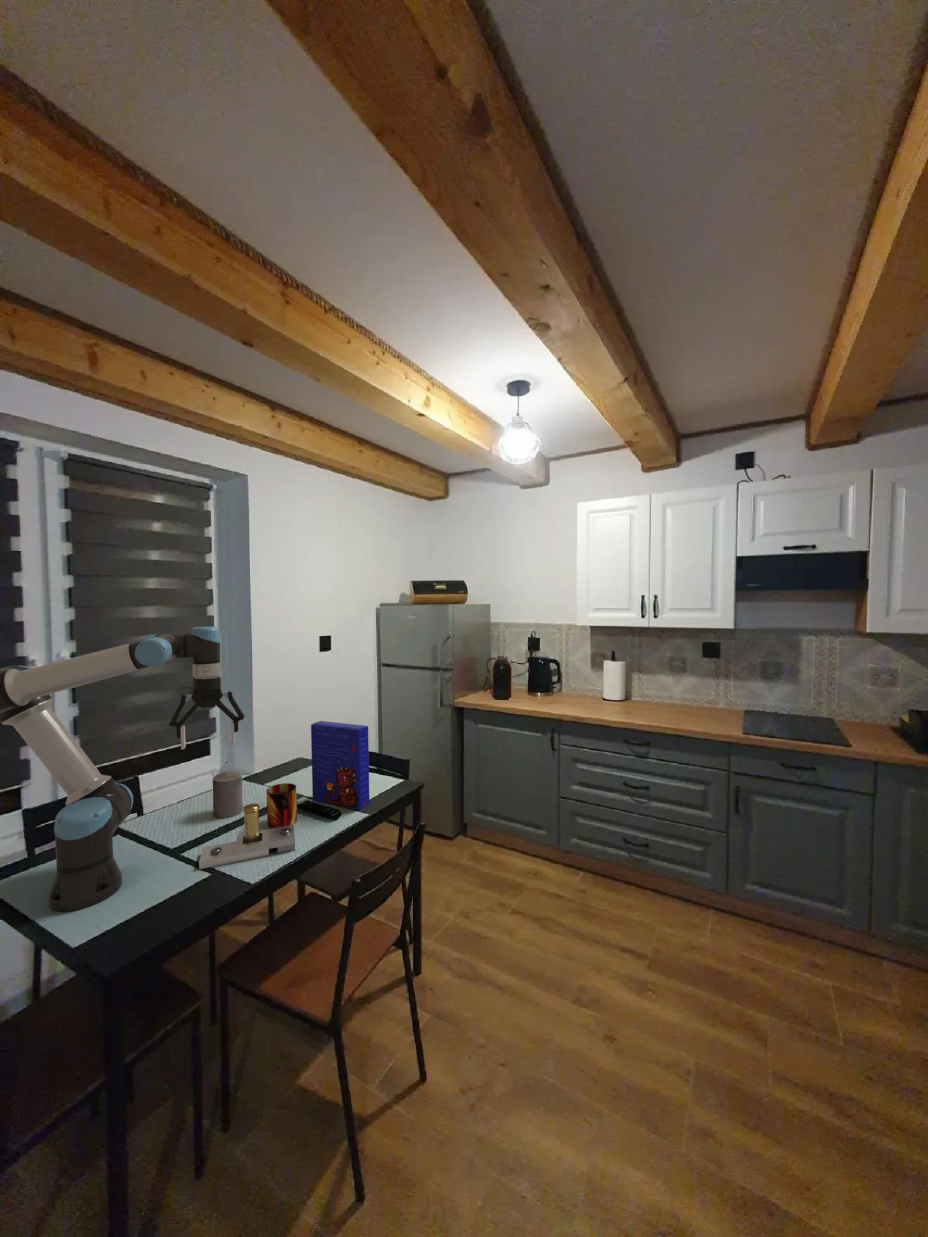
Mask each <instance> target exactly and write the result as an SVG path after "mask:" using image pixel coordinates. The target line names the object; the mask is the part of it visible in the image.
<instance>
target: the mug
mask: <svg viewBox="0 0 928 1237" xmlns="http://www.w3.org/2000/svg"><path fill="white" fill-rule="evenodd" d="M297 802H298V800H297V785H296V784H294V783H293V782H292V783H291V782H284V783H283V782H282V783H278V784H277V783H276V784H273V785H272V786H269V787H268V788H267V789H266V819H267V821H266V825H267V828H268V829H272V828H277V827H283V826H288V825H293V826H294V825H295V824H296V823H297V822H298V818H297V817H298V809H297V808H298V806H297V805H298V804H297Z"/></svg>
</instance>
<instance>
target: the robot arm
mask: <svg viewBox="0 0 928 1237" xmlns="http://www.w3.org/2000/svg"><path fill="white" fill-rule="evenodd" d="M179 659H181V660H183V659H191V661H192V677H193V679H192V687H193V688H192V694H189V693H188V694H187V693H183V694H182V695H181V696H180V703H179V704H178V707H177V708H176V710H175V712H174V714H173V716H172V717H171V720H170V722H169V723H168V725H169V727H175V729H176V737H177V739H180V750H185V749H186V726H185V725H183V724H185V722H186V721H187V720H188V719H189V718H190V716H191V715H192V714H193V713H195V711H196V710H197V708H198V707H199V708H202V709H204V708H214V707H215V706H216V707H217V708H218V709H220V710H221V711H222V712H223V713H224V715H226V716H227V717H228V718H229V719H230V720H231V722H230V734H231V735H230V736H231V738H230V739H231V740H230V741H231V744H232V745H234V744H235V742H236V738H235V737H236V736H235V735H236V734H235V733H238V731H239V722H240V721H242V720H244V719H245V714H244V712H243V711H242V709H241V707H240V706H239V704H238V703H237V701H236V699H235V698H234V694H233V690H231V689H230V690H228V691H222V682H221V681H222V678H221V676H220V675H221V674H222V673H221V668H222V667H221V640H220V631H219V628H218V627H216V626H195V627H191V631H190V633H184V634H183V633H178V634H177V633H173V634H172V633H167V634H166V633H165V634H163V633H158V634H149V635H147V636H146V637H145V639H142V640H138V641H135V642H131V643H127V644H121V645H118V646H115V647H110V648H107V649H102V650H98V651H95V652H91V653H87V654H84V655H78V656H75V657H70V658H67V659H63V660H59V661H56V662H51V663H48V664H43V665H40V666H36V667H31V666H27V665H8V666H3V667H1V668H0V724H2V725H3V726H12V727H13V728H14V729H15V730H16V732H17V733H18V734H19V736H20V737H21V738H22V739H23V740H24V742H25V743H26V744H27V745H28V747H29V748H30V749H31V751H32V752H33V753H34V754H35V756H36V757H37V758H38V759H39V760H40V762H41V763H42V765H44V767H45V768H46V769H47V771H48V772H49V773H50V774H51V776H52V777H53V778H54V779H55V781H56V782H57V784H58V785H59V786H60V788H61V789H62V790H63V791H64V792H65V794H66V795H67V798H66V801H65V807H62V809H61V810H60V811H58V813H57V814H56V816H55V819H54V820H55V821H54V826H53V832H54V842H55V861H56V875H55V876H54V880H53V883H52V886H51V888H50V891H49V894H48V906H49V908H50V909H51V910H53V911H56V912H70V911H76V910H80V909H85V908H87V907H90V906H93V905H95V904H98V903H100V902H102V901H104V900H106V899H108V898H110V897H111V896H112V895H113V894H115V893H116V892H117V891H119V889H121V886H122V884H123V873H122V871H121V869H120V867H119V864H118V863H117V861H116V858H115V857H114V843H113V842H114V841H113V840H114V839H113V836H114V833H115V832H116V831H117V829H118V828H119V826H120V825H121V824H122V823H123V822H124V821H125V820H126V819H127V817H129V815H130V813H131V810H132V808H133V805H134V796H133V792H132V791H131V789H130V788H129V787H128V786H126V785H125V784H122V783H119V782H116V781H115V780H114V779H113V778H112V776H111V775H105V774H101V772H100V771H99V770H98V768H97V767H96V765H94V763H93V762H92V760H91V759H90V757H88V754H86V752H85V751H84V750H83V748H82V747H81V746H80V745H79V743H78V742H77V741H76V739H75V738H74V736H72V734H71V733H70V731H69V730H68V729H67V727H66V726H65V725H64V724H63V722H62V721H61V720H60V719H59V717H58V716H57V714H56V713H55V712H54V710H52V708H51V705H52V703H53V698H52V697H51V694H55V693H58V692H59V693H60V692H63V691H67V690H70V689H73V688H76V687H80V686H85V685H87V684H91V683H96V682H100V681H102V680H106V679H111V678H113V677H118V676H121V675H125V674H128V673H132V672H136V671H138V670H139V671H140V670H143V669H147V668H151V667H158V666H161V665H164V664H166V663H167V662H169V661H171V660H179ZM223 697H224V698H225V699H227V700H228V701H229V703H230V705H231V707H232V708H233V710H234V712H236V714H235V713H234V712H233V711H232V710H230V709H229V707H228V706H226V705H225V704H224V702H222V700H221V699H223ZM190 699H191V700H192V701H193V702H194V704H193V705H192V707H191V708H190V709H189V710H188V711H187V712H186V713H185V714H184V715H183V717H182V718H181V719H180V720H179V721H177V720H178V718H179V717H180V715H181V712H182V711H183V709H184V707H185V705H186V702H189V701H190Z"/></svg>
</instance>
